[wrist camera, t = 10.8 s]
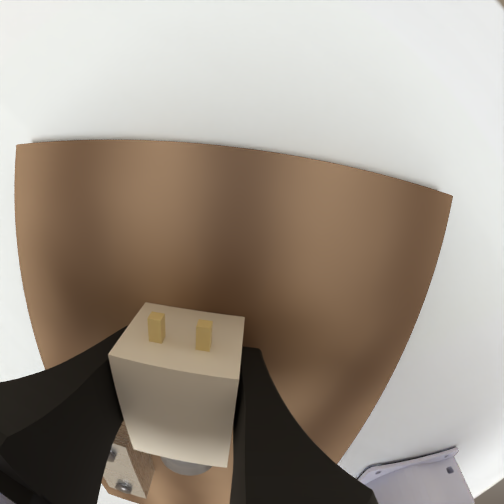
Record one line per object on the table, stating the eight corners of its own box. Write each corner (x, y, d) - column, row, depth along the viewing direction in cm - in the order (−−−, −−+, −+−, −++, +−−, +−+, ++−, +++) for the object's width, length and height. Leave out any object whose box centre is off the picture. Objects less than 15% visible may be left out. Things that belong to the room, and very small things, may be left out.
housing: (297, 432, 12) (302, 478, 9) (270, 486, 14) (271, 520, 11) (97, 397, 12) (75, 434, 9) (120, 460, 14) (108, 490, 11)
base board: (438, 192, 9) (452, 196, 8) (286, 515, 18) (286, 523, 17) (31, 144, 9) (16, 144, 8) (111, 486, 18) (108, 493, 17)
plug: (229, 433, 12) (224, 486, 9) (158, 421, 12) (141, 470, 9) (247, 296, 10) (242, 356, 7) (144, 282, 10) (103, 330, 6)
